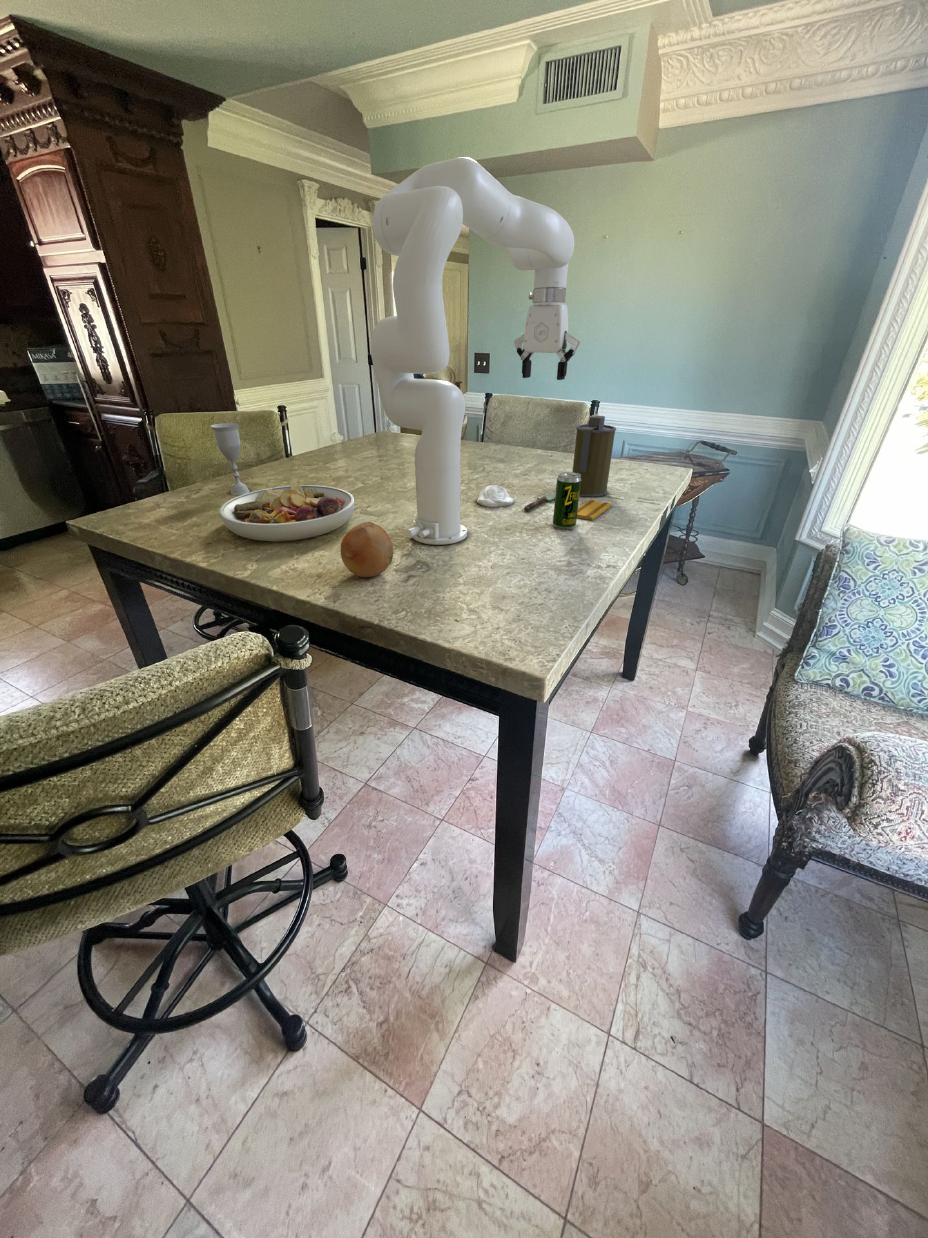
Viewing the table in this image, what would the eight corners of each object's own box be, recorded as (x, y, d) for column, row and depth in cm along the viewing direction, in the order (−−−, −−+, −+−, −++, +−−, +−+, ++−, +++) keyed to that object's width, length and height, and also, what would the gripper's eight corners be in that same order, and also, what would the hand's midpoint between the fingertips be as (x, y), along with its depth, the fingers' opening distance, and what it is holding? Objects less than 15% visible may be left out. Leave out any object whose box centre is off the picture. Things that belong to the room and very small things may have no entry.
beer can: (548, 524, 119) (552, 473, 113) (566, 520, 121) (571, 470, 115) (562, 531, 115) (567, 478, 109) (580, 527, 117) (586, 475, 111)
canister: (578, 484, 149) (587, 412, 138) (612, 490, 143) (623, 415, 133) (562, 493, 141) (570, 417, 131) (597, 499, 136) (608, 421, 126)
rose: (488, 478, 137) (520, 483, 133) (487, 494, 140) (519, 500, 135) (470, 487, 130) (503, 493, 126) (470, 504, 132) (503, 510, 128)
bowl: (195, 533, 113) (185, 499, 109) (288, 498, 137) (282, 468, 133) (298, 556, 102) (291, 519, 98) (380, 513, 126) (377, 482, 122)
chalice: (247, 496, 139) (231, 427, 130) (222, 496, 139) (205, 427, 130) (256, 488, 145) (243, 422, 136) (233, 488, 145) (218, 422, 136)
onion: (351, 562, 100) (345, 514, 95) (400, 564, 99) (397, 515, 94) (335, 584, 91) (328, 532, 86) (389, 586, 90) (384, 534, 85)
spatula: (532, 513, 126) (532, 507, 125) (518, 510, 128) (518, 505, 127) (560, 496, 138) (560, 491, 137) (546, 494, 140) (547, 489, 139)
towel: (592, 520, 121) (592, 516, 121) (569, 515, 124) (569, 512, 124) (610, 506, 131) (611, 503, 130) (588, 502, 133) (589, 499, 133)
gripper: (509, 298, 119) (506, 377, 128) (576, 296, 111) (568, 381, 119) (524, 299, 125) (520, 375, 133) (590, 297, 116) (581, 379, 125)
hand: (543, 378), depth 126 cm, fingers open, 9 cm apart
